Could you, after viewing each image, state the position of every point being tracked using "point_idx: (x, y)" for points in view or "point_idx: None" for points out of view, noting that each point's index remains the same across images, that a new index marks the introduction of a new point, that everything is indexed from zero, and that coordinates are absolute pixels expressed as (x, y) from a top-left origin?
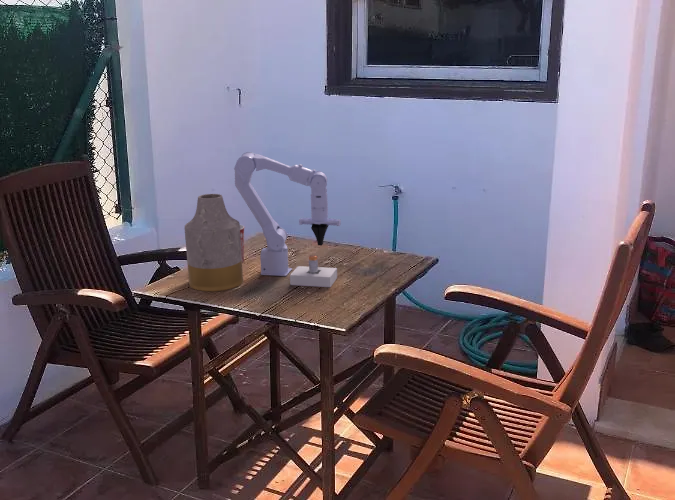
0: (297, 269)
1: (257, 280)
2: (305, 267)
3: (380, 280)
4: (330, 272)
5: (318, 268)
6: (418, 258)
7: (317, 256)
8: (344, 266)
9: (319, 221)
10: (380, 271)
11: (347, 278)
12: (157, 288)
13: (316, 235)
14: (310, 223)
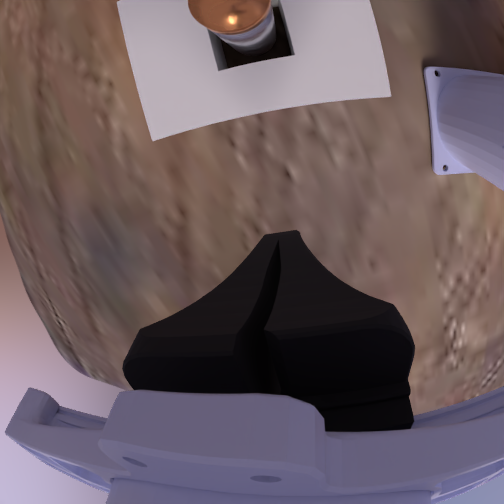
0: (364, 34)
1: (492, 14)
2: (337, 81)
3: (37, 183)
4: (147, 59)
5: (248, 89)
6: (93, 370)
7: (192, 15)
8: (223, 280)
9: (166, 483)
10: (85, 265)
11: (129, 145)
12: None
13: (306, 271)
14: (438, 424)
